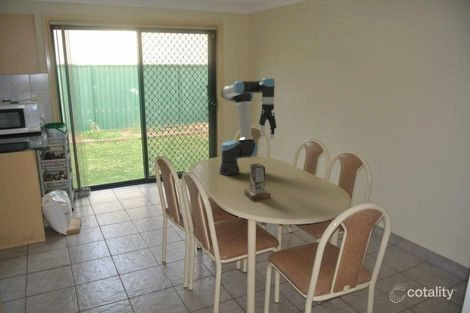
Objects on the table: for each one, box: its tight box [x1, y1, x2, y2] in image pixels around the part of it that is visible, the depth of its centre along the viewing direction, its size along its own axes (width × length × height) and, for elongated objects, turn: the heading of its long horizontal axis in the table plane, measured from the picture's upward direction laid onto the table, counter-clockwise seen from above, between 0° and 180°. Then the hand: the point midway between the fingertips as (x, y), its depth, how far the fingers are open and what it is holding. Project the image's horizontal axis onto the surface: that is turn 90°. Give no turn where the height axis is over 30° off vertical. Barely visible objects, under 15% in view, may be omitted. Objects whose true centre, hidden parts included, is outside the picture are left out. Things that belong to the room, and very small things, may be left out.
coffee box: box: [249, 163, 266, 194], centre depth 211 cm, size 9×6×16 cm
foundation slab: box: [243, 188, 272, 202], centre depth 213 cm, size 12×12×3 cm
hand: (267, 137), depth 224 cm, fingers open, 13 cm apart
